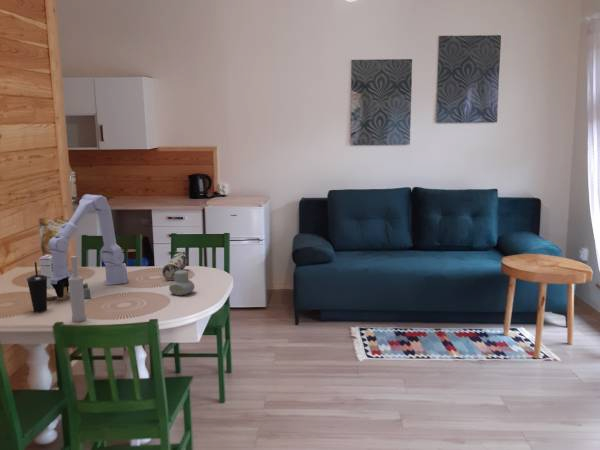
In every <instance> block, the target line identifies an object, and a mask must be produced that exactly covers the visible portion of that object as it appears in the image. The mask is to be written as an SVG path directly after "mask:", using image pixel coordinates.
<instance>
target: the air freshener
mask: <svg viewBox="0 0 600 450" xmlns="http://www.w3.org/2000/svg"><path fill="white" fill-rule="evenodd" d="M174 277H175V279H174V280H172V282H171V283H170V284H169V287H168V289H169V291H170V293H172V294H173V295H176V296H178V295H181V296H187V295H189V294H190V293H192V292H193V291H194V289H195V283H194V282H193V281H192V280H190V279H189V272H188V270H185V269H183V270H178V271H175V272H174Z"/></svg>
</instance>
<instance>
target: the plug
mask: <svg viewBox="0 0 600 450" xmlns="http://www.w3.org/2000/svg"><path fill="white" fill-rule="evenodd" d="M53 300H57V301H65V300H68V294H67V287H66V286H64V295H63V297H57V295H54V296H47V301H53Z"/></svg>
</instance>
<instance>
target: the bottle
mask: <svg viewBox="0 0 600 450" xmlns="http://www.w3.org/2000/svg"><path fill="white" fill-rule="evenodd" d="M77 257H78V256H76V255H71V256H70V263H71V270H72V271H71V276H70V278H69V279H68V281H69V290H70V294H69V297H70V299H69V300H70V306H71V307H70V308H71V314H72V315H71V320H72V322H75V323H77V322H78V323H80V322H84V321H85V320H86V318H87V315H86V314H87V313H85V312H86V307H85V299H84V290H83V284H84V279H83V276H82V275H80V272H78V271H79V269H78V258H77Z"/></svg>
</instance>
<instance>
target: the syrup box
mask: <svg viewBox="0 0 600 450" xmlns="http://www.w3.org/2000/svg"><path fill="white" fill-rule="evenodd" d="M39 267H40V275H44V276H47V277H48V278H47V289H48V288H49V289H54V288H53V286H52V285H51V279H52V278H53V275H54V274H53V264H52V255H46V256H43V257H42V256H41V257H40V256H39Z"/></svg>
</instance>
